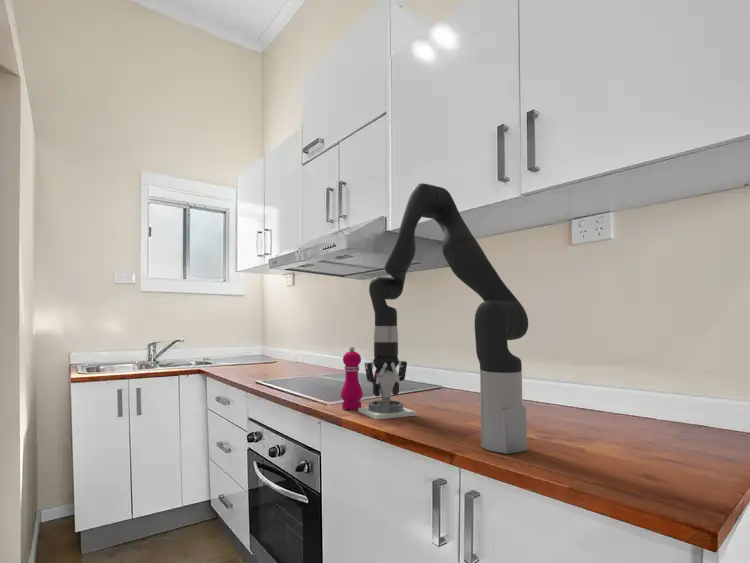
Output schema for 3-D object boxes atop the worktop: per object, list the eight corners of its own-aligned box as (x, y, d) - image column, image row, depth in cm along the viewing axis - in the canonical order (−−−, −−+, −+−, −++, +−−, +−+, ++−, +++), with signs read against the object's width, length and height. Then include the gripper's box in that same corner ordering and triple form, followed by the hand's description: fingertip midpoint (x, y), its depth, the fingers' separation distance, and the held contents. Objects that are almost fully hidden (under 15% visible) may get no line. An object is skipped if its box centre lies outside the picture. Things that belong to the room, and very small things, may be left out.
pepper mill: (359, 405, 157) (359, 345, 159) (365, 409, 150) (365, 347, 152) (338, 406, 155) (338, 346, 156) (343, 410, 148) (344, 347, 149)
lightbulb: (394, 407, 140) (394, 370, 141) (374, 406, 141) (374, 370, 142) (397, 404, 146) (397, 368, 147) (378, 403, 147) (378, 368, 148)
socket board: (414, 415, 140) (414, 411, 140) (376, 419, 135) (376, 415, 135) (394, 408, 152) (394, 404, 152) (358, 411, 146) (358, 407, 146)
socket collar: (409, 411, 141) (409, 404, 141) (378, 414, 136) (378, 407, 137) (393, 405, 150) (393, 399, 151) (363, 408, 146) (363, 401, 146)
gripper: (370, 341, 139) (370, 399, 137) (411, 340, 145) (412, 395, 143) (360, 340, 145) (360, 395, 144) (400, 339, 152) (400, 392, 150)
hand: (386, 395), depth 144 cm, fingers closed on lightbulb, 5 cm apart
